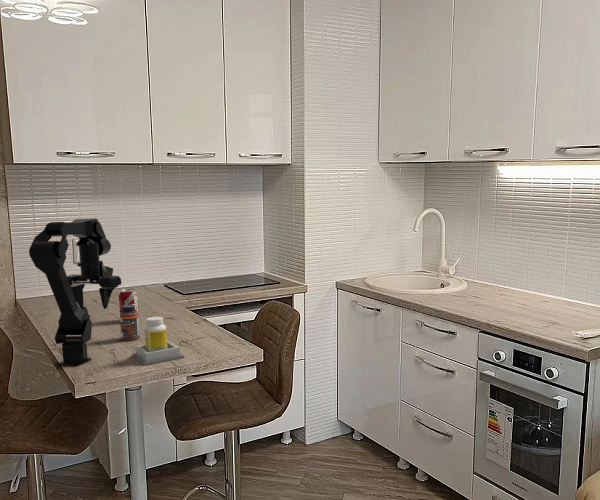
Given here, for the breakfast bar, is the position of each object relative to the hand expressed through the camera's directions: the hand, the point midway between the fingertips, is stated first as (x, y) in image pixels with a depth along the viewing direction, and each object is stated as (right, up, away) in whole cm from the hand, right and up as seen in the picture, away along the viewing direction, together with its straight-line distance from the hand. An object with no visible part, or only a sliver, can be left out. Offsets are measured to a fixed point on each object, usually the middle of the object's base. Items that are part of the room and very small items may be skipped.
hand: (93, 307), depth 182 cm
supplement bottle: (+8, -12, +11) cm, 18 cm away
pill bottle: (+23, -13, -10) cm, 28 cm away
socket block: (+23, -14, -10) cm, 28 cm away
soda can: (+1, -9, +36) cm, 38 cm away
